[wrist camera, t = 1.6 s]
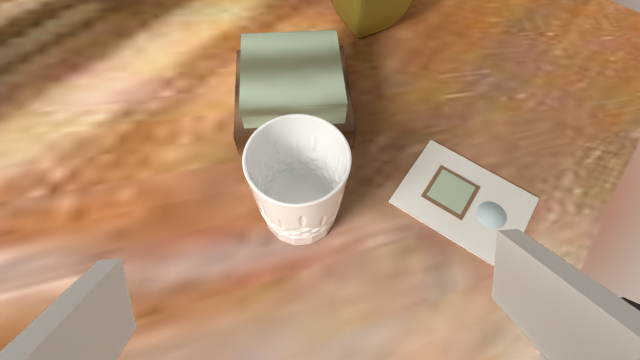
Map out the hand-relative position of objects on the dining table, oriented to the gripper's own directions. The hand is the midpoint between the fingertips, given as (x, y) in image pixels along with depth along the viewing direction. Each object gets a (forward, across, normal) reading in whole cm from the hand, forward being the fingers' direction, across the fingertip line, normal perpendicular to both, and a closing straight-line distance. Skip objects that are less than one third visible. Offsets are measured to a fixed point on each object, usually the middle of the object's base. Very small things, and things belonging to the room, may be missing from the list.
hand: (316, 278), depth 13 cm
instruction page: (+22, +16, -6) cm, 27 cm away
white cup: (+22, -1, -6) cm, 23 cm away
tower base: (+31, -1, +4) cm, 31 cm away
